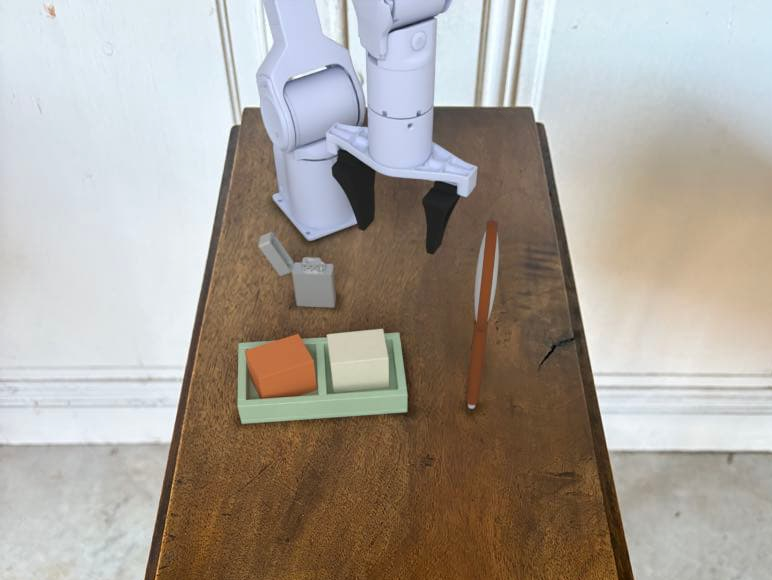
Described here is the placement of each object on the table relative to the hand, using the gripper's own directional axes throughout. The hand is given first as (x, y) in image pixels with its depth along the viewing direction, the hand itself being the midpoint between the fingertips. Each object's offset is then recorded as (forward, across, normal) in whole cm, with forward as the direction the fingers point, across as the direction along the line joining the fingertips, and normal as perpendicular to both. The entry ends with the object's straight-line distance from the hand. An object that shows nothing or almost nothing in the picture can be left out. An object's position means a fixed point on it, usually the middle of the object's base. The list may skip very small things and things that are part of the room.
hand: (399, 236), depth 80 cm
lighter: (+8, +9, +6) cm, 13 cm away
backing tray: (+8, +1, +15) cm, 17 cm away
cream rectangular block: (+7, -2, +13) cm, 15 cm away
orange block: (+7, +4, +17) cm, 19 cm away
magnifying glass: (+8, -14, +11) cm, 19 cm away
